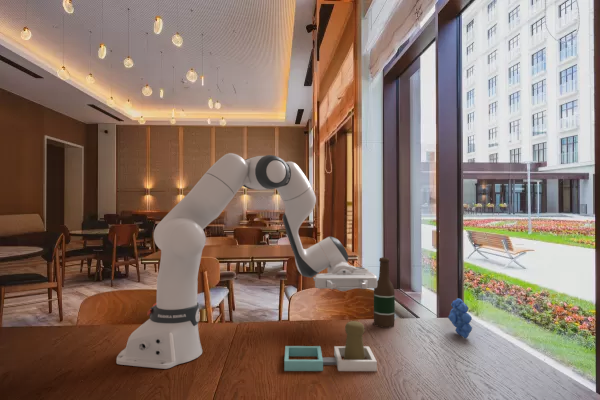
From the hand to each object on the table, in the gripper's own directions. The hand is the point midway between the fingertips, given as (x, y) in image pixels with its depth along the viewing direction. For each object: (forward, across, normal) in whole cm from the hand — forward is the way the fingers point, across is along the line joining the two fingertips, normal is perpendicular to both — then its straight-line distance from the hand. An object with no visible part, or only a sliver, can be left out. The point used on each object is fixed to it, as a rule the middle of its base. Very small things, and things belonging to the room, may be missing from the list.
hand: (348, 286), depth 112 cm
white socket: (+12, -2, +18) cm, 22 cm away
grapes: (-9, +38, +19) cm, 43 cm away
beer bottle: (-20, +16, +18) cm, 31 cm away
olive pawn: (+12, 0, +18) cm, 22 cm away
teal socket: (+12, -14, +18) cm, 26 cm away
